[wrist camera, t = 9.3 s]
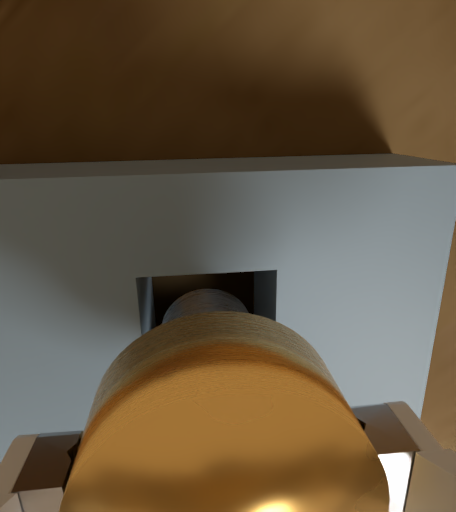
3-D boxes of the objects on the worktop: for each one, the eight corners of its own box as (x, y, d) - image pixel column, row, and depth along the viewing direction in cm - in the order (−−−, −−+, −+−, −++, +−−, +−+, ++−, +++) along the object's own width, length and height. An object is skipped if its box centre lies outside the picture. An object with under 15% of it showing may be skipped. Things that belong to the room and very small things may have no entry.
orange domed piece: (293, 245, 14) (410, 379, 7) (287, 392, 16) (372, 614, 9) (110, 253, 13) (25, 412, 6) (129, 406, 16) (82, 656, 8)
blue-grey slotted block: (-15, 164, 17) (-94, 182, 12) (392, 153, 18) (465, 165, 13) (35, 399, 20) (-9, 482, 16) (367, 372, 22) (416, 440, 17)
